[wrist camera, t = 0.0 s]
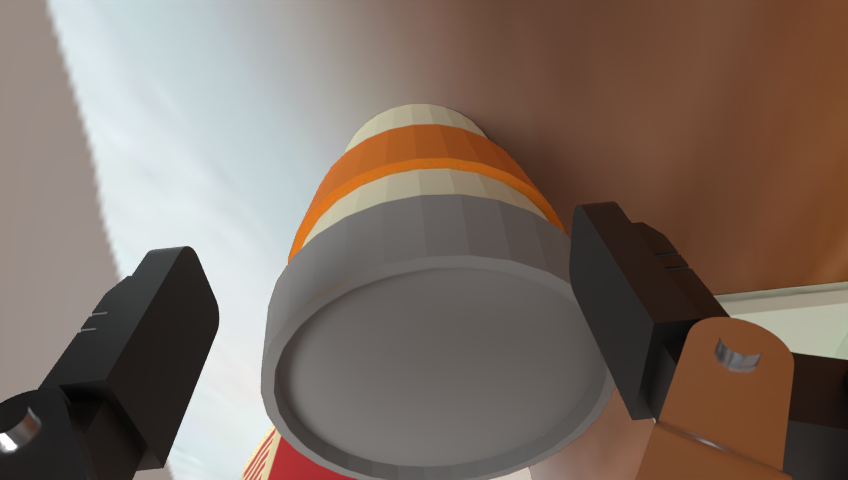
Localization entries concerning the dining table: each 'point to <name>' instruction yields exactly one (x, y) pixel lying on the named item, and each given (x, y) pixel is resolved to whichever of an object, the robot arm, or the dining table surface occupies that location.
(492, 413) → the reusable coffee cup
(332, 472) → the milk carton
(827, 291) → the tray
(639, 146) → the dining table surface
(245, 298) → the dining table surface
